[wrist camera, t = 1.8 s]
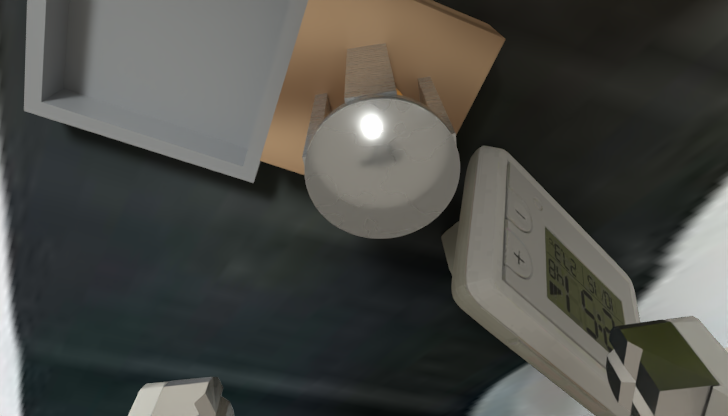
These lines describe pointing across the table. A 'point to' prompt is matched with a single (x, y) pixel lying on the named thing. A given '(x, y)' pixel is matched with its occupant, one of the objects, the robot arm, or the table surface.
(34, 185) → the table surface
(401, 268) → the table surface
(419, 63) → the stand
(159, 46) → the tray
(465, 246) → the digital clock
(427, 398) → the table surface
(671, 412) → the robot arm
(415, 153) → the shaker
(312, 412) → the table surface
